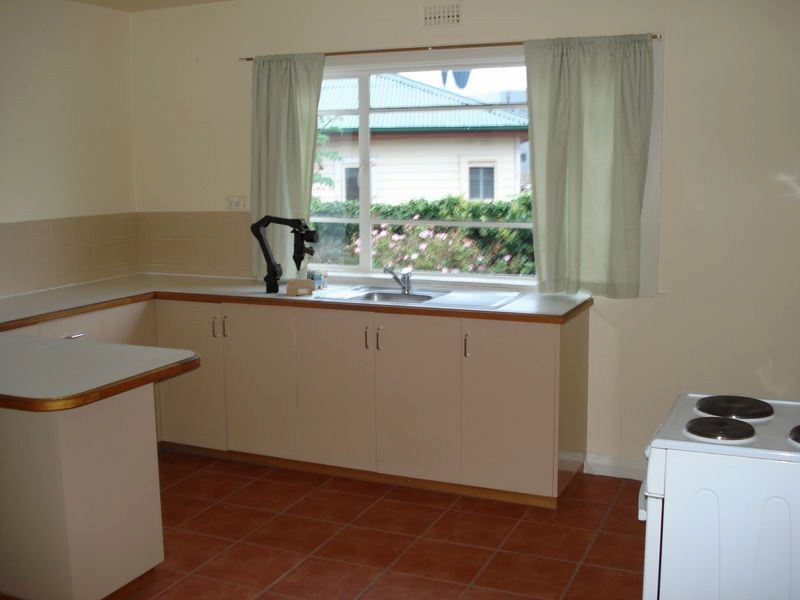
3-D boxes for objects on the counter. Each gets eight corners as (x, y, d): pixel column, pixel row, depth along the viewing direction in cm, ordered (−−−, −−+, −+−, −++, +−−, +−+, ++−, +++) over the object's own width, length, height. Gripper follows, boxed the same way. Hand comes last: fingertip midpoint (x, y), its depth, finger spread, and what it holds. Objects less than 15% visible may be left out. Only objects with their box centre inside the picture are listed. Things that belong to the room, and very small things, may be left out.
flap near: (287, 285, 462) (287, 286, 462) (287, 279, 458) (287, 279, 458) (310, 285, 464) (310, 286, 463) (310, 279, 460) (310, 279, 460)
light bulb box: (315, 290, 485) (315, 271, 484) (306, 289, 489) (306, 270, 488) (327, 289, 494) (328, 270, 492) (319, 287, 498) (319, 269, 496)
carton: (285, 296, 463) (285, 286, 462) (285, 293, 473) (285, 283, 473) (312, 296, 465) (312, 286, 464) (311, 293, 475) (311, 283, 474)
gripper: (314, 244, 457) (313, 273, 460) (314, 240, 476) (314, 269, 478) (292, 243, 456) (292, 273, 459) (293, 240, 475) (293, 268, 477)
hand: (298, 270), depth 468 cm, fingers closed
